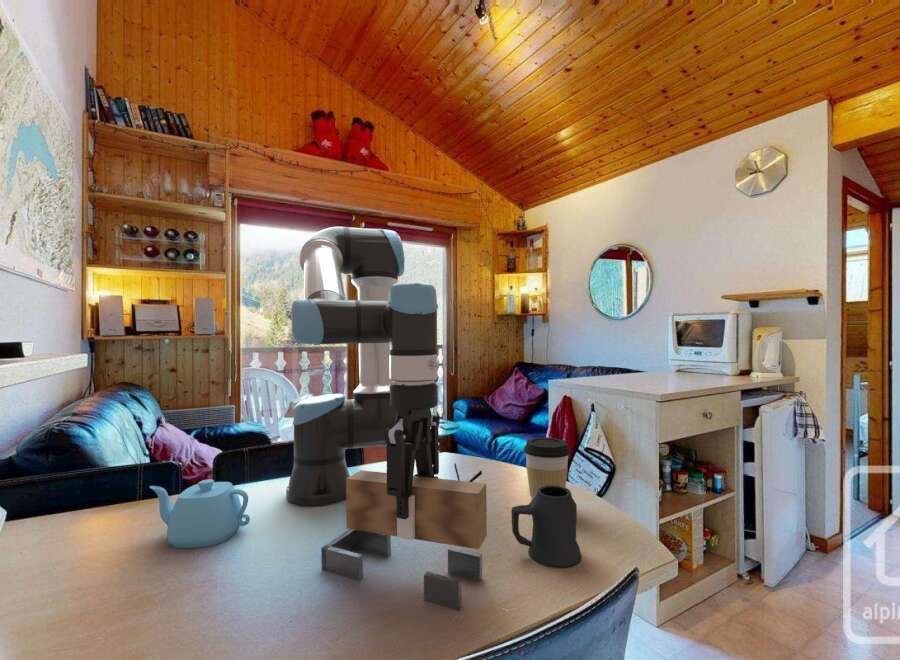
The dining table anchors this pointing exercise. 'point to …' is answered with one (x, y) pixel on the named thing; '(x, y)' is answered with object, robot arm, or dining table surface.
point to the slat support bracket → (342, 556)
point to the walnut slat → (420, 508)
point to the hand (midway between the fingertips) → (415, 529)
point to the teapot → (203, 514)
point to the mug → (550, 527)
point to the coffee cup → (546, 463)
